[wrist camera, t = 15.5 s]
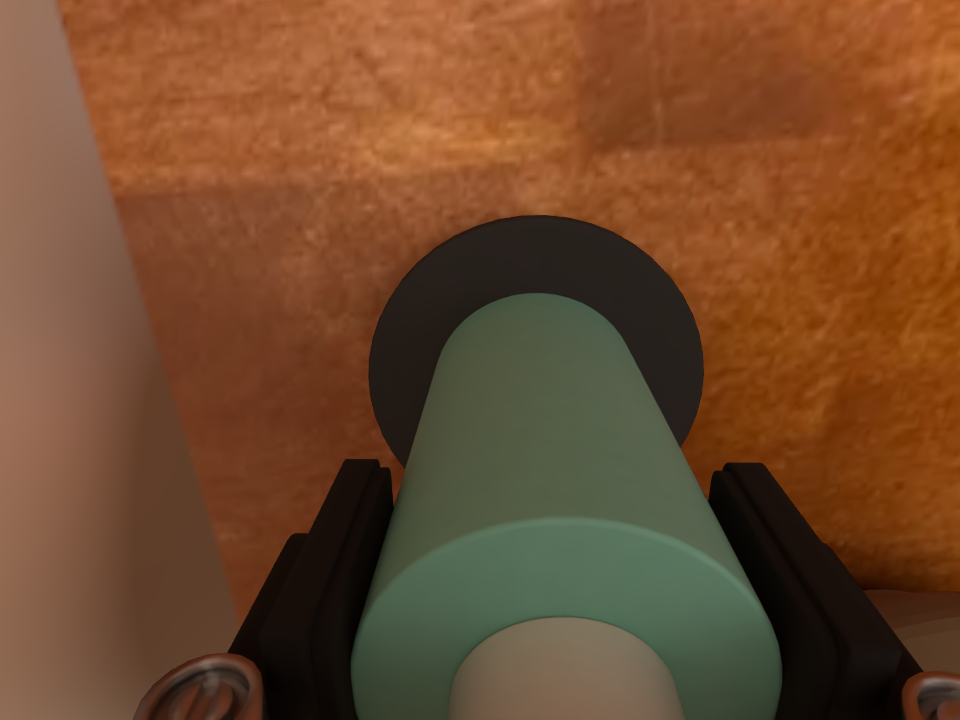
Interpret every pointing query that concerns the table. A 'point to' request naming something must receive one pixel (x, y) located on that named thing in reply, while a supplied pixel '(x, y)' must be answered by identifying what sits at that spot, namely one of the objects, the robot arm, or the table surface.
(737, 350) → the table surface
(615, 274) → the coaster
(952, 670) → the bowl
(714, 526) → the bottle
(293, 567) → the robot arm
